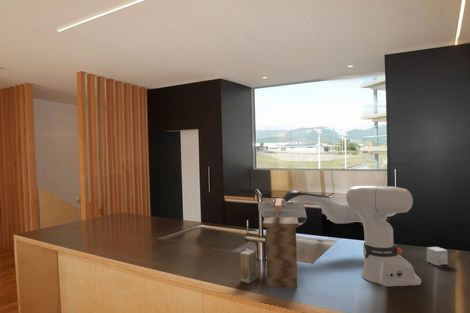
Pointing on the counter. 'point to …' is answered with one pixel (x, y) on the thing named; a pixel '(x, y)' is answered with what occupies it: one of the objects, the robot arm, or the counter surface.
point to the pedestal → (281, 251)
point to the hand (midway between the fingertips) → (278, 201)
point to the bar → (278, 205)
